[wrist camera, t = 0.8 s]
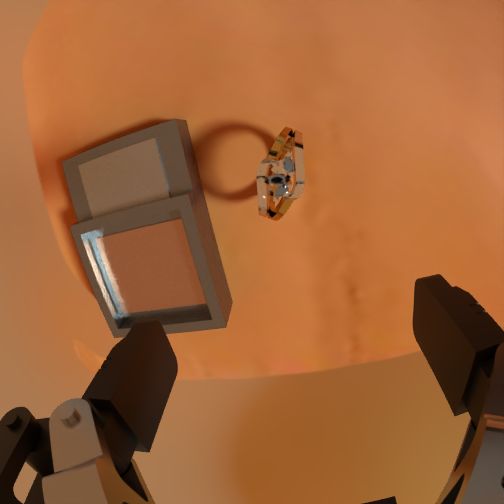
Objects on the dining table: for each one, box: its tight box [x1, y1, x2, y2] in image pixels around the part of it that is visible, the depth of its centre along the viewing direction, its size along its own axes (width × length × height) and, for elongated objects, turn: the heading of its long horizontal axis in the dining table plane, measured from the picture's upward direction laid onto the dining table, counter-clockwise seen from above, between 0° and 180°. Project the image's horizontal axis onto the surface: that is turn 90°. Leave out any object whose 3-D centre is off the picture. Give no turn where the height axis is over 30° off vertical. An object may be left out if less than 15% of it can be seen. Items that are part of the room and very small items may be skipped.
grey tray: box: [62, 119, 233, 338], centre depth 27 cm, size 18×12×4 cm, turn 12°
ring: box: [257, 127, 305, 221], centre depth 23 cm, size 7×3×8 cm, turn 159°
